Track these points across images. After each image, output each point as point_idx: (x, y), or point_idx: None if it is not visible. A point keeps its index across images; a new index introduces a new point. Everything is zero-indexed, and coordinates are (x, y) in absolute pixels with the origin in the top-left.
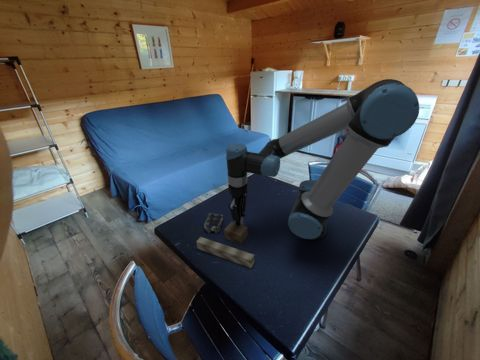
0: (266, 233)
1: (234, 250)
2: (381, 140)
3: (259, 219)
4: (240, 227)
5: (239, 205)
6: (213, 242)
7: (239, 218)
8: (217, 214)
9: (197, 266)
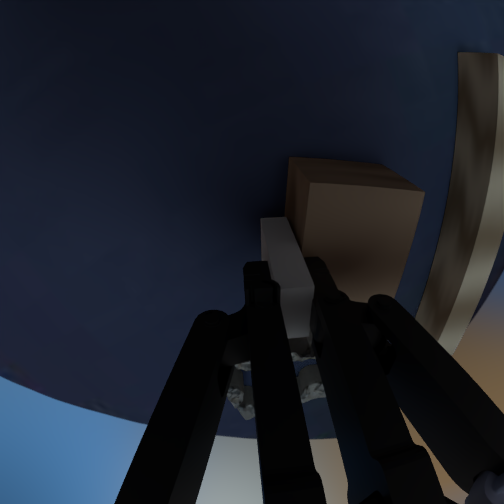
0: (197, 43)
1: (500, 177)
2: None
3: (84, 169)
4: (336, 237)
5: (426, 476)
6: (460, 301)
7: (352, 306)
8: (230, 394)
9: (498, 274)
